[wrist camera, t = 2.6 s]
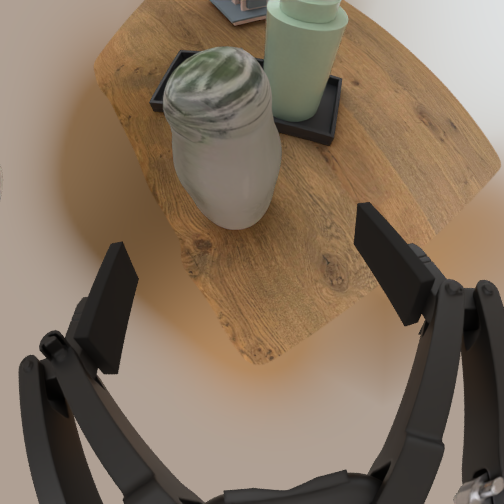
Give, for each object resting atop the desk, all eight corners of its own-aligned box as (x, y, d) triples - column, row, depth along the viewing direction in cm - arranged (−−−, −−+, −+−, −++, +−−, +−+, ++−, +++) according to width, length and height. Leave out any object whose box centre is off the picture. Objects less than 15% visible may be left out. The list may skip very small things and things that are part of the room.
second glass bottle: (249, 95, 44) (249, -48, 17) (291, 72, 45) (313, -56, 18) (289, 131, 43) (322, -19, 15) (330, 105, 44) (380, -25, 16)
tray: (153, 111, 45) (149, 102, 42) (182, 59, 47) (179, 50, 44) (329, 146, 44) (334, 137, 41) (338, 87, 46) (342, 78, 43)
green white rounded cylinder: (217, 164, 43) (181, 15, 15) (279, 187, 42) (317, 42, 15) (190, 222, 42) (103, 109, 14) (255, 247, 41) (265, 153, 13)
